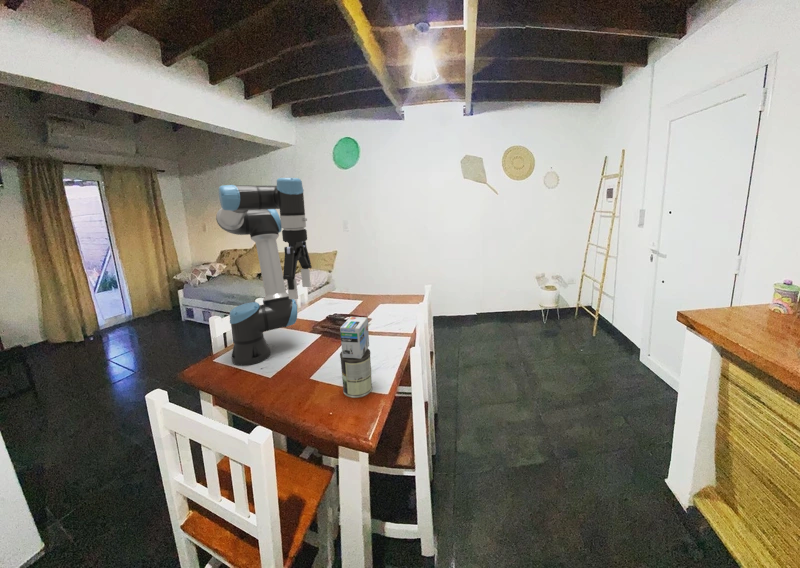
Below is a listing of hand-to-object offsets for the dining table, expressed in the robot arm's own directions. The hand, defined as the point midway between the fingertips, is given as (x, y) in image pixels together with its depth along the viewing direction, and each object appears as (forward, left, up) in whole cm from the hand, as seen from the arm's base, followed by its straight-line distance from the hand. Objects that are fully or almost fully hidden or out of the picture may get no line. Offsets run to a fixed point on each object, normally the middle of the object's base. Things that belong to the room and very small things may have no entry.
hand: (300, 292), depth 106 cm
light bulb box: (+2, +18, -21) cm, 28 cm away
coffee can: (+3, +18, -35) cm, 40 cm away
